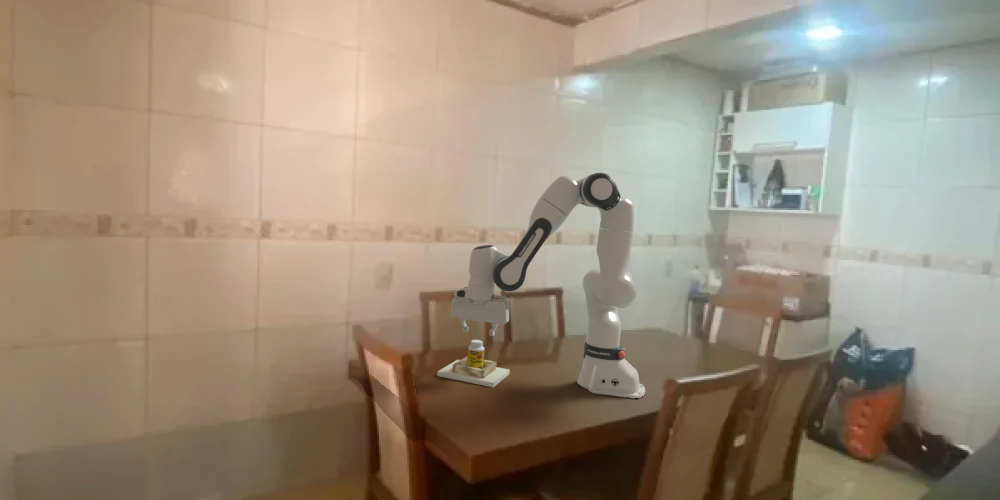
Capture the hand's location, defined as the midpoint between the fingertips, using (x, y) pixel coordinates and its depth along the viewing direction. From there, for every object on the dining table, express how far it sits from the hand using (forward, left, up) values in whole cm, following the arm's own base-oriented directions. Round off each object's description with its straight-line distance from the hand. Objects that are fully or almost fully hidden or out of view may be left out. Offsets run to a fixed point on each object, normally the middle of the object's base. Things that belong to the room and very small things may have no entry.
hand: (478, 333), depth 181 cm
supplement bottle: (0, 0, -13) cm, 13 cm away
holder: (0, 0, -14) cm, 14 cm away
